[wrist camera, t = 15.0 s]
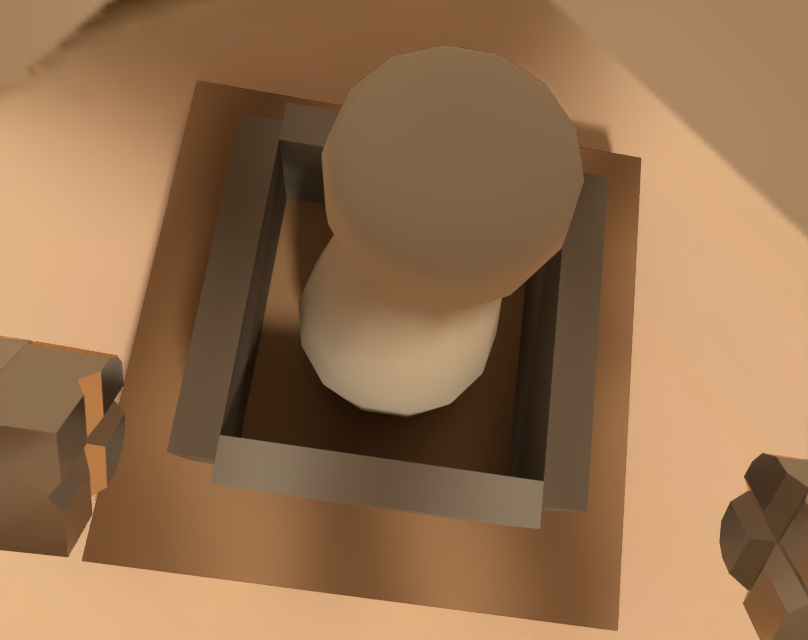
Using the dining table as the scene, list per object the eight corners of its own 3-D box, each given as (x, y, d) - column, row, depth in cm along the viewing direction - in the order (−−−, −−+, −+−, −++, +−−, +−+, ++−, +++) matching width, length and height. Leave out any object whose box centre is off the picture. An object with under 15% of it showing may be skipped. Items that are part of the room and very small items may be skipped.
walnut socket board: (619, 182, 28) (695, 96, 22) (594, 620, 24) (680, 657, 18) (206, 111, 27) (173, 2, 21) (103, 556, 23) (25, 573, 17)
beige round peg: (297, 256, 24) (263, -26, 11) (468, 247, 24) (614, -26, 12) (307, 434, 22) (280, 339, 10) (488, 419, 23) (678, 314, 10)
